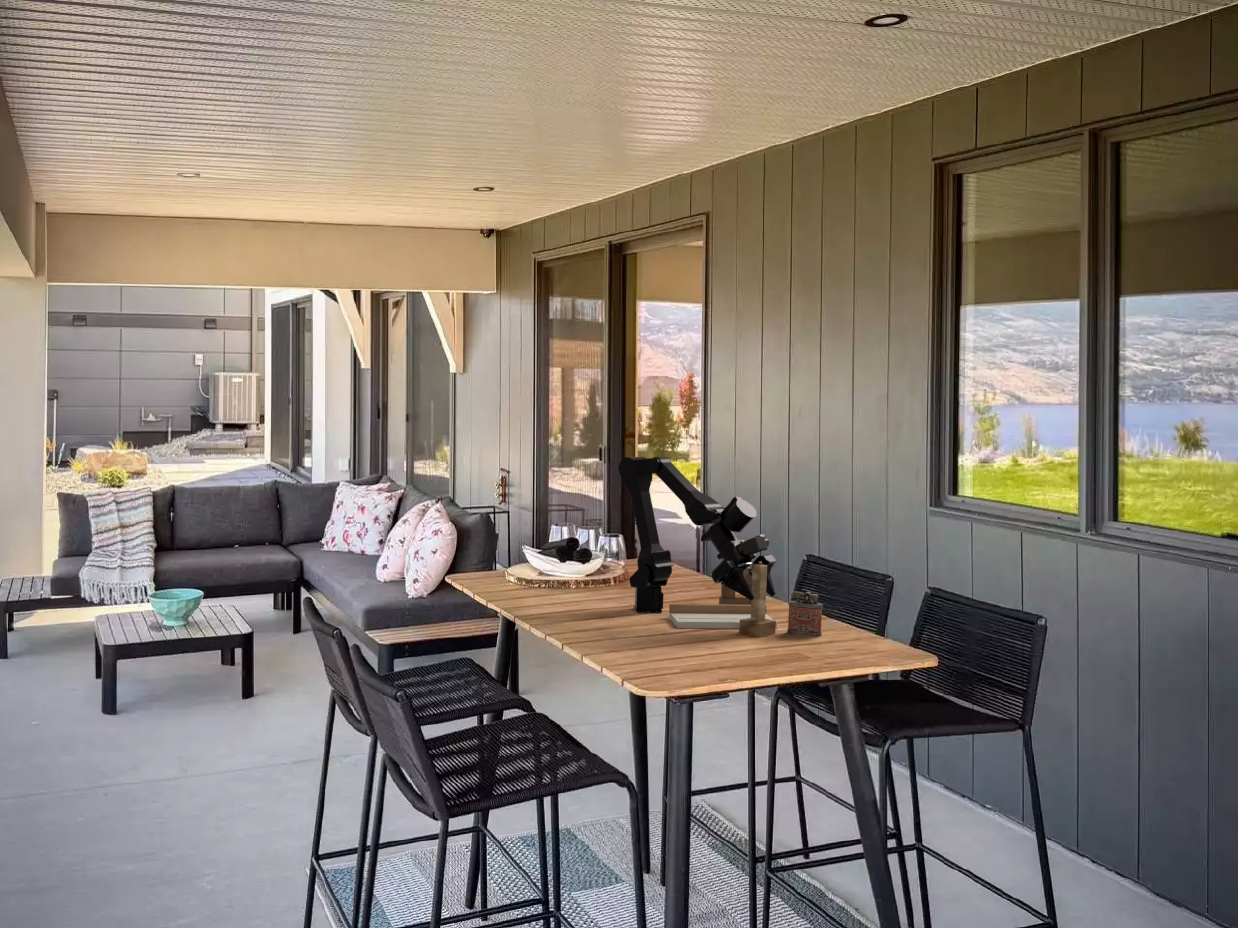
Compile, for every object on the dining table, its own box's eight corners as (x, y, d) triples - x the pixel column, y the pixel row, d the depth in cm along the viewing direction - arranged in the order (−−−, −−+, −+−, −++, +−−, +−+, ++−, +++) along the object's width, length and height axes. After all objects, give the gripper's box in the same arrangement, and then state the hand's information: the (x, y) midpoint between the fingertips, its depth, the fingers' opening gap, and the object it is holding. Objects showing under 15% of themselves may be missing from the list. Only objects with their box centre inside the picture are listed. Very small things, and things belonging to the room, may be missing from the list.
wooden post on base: (739, 632, 275) (742, 561, 274) (754, 629, 279) (757, 558, 278) (760, 636, 271) (763, 564, 270) (775, 633, 275) (778, 562, 274)
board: (677, 627, 278) (678, 613, 277) (669, 617, 289) (669, 603, 289) (776, 628, 281) (777, 614, 280) (764, 618, 292) (765, 604, 292)
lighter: (822, 634, 276) (824, 592, 275) (820, 637, 272) (822, 594, 272) (788, 631, 278) (790, 589, 277) (785, 634, 275) (787, 591, 274)
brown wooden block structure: (762, 613, 300) (765, 542, 299) (722, 613, 298) (724, 542, 297) (758, 610, 304) (761, 541, 302) (718, 610, 302) (721, 540, 300)
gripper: (723, 525, 269) (760, 580, 262) (771, 520, 283) (808, 572, 276) (695, 555, 275) (731, 609, 268) (743, 549, 289) (778, 600, 282)
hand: (763, 597), depth 273 cm, fingers open, 8 cm apart
